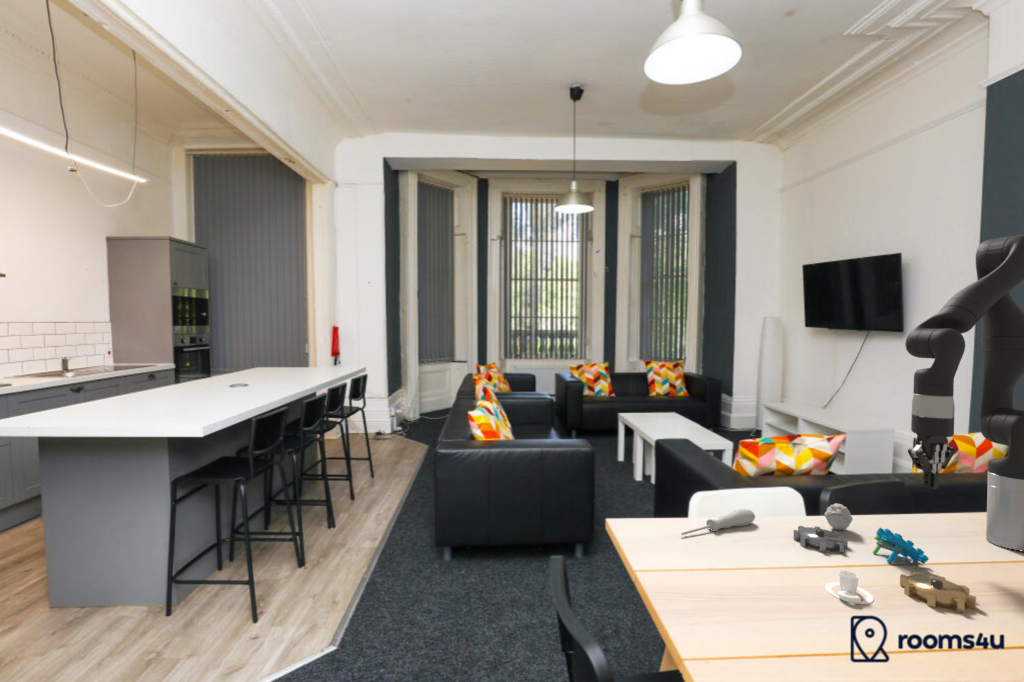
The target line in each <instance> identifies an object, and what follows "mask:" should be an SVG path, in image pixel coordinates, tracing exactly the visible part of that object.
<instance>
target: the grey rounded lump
mask: <svg viewBox="0 0 1024 682" xmlns="http://www.w3.org/2000/svg"><path fill="white" fill-rule="evenodd" d="M824 517H825V519H826V521H827V523H828V525H829V526H830V527H831V528H833V529H835V530H839V531H843V530H846V529H847V528H848V527H849V526H850V525H851V523H852V522H853V521H854V520H853V516H852V514H851V512H850V510H849V509H848V507H847V506H844V505H843V504H841V503H837V502H835V503H833V504H830V506H828V507H827V508H826V511H825V512H824Z"/></svg>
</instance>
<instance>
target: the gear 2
mask: <svg viewBox="0 0 1024 682" xmlns="http://www.w3.org/2000/svg"><path fill="white" fill-rule="evenodd" d="M875 534H876V535H875V537H874V540H876V542H875V544H876V545H877V546H875V548H874V549H873V551H872V553H873V554H874V555H877V554H878V552H879V551H880V550H881V548H882V549H884V550H887V551H890V552H891V554H890V555H889V556H888V557H887V559H886V562H887V563H888V564H891V565H892V564H893V563H894V561H895V560H896V559H897V558H898V556H899V555H901V556H902V557H905V558H910V559H911V560H912V561H913V562H916V563H918V562H920V563H921V564H923V565H925V563H926V562H928V561H929V560H930V559H929V557H928V556H927V555H926V554H924V553H925V551H924V550H923V549H921V548H920V547H917V548H915V547H914V546H915V543H914V542H913V541H911V540H909V539H907V540H905V539H904V538H903V536H902V535H901V534H900V533H897V532H895V533H894V532H893V531H891V530H890V529H889V528H883V527H882V528H881V527H879V528H878V530H877V531H876V532H875Z"/></svg>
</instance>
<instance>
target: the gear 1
mask: <svg viewBox="0 0 1024 682" xmlns="http://www.w3.org/2000/svg"><path fill="white" fill-rule="evenodd" d="M792 539H793V540H795V541H799V543H800V546H802V547H804V548H806V547H807V548H808V547H809V548H811V549H815V550H818V551H819V552H820V553H823V554H825V553H826V552H837V553H839V554H843V553H844V551H845V549H848V545H849V544H848V542H849V541H848V540H849V539H848V538H847V537H842V536H841V535H840V532H837V531H835V530H832V531H831V530H828V529H823V528H821V527H820V526H815V525H814V527H806V526H804V525H799V526H797V529H793V536H792Z"/></svg>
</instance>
